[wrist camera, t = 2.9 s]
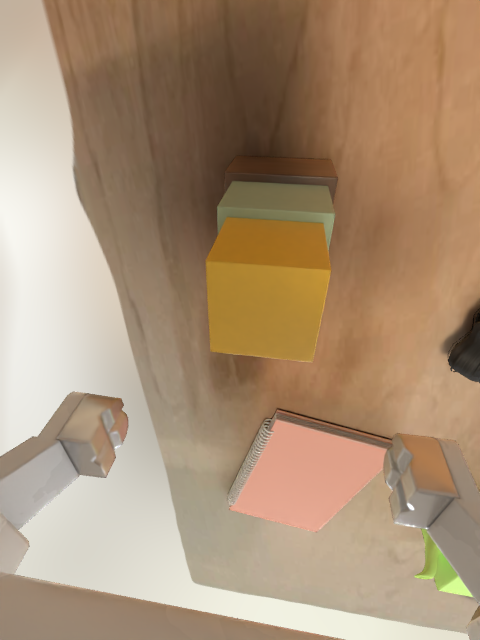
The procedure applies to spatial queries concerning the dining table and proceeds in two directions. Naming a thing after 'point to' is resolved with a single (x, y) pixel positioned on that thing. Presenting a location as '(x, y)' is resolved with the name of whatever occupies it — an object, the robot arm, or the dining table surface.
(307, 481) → the notebook
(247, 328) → the top block
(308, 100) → the dining table surface
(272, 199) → the middle block
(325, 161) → the base block
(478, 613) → the bowl
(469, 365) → the toy figure
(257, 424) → the dining table surface
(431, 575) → the teapot
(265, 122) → the dining table surface
